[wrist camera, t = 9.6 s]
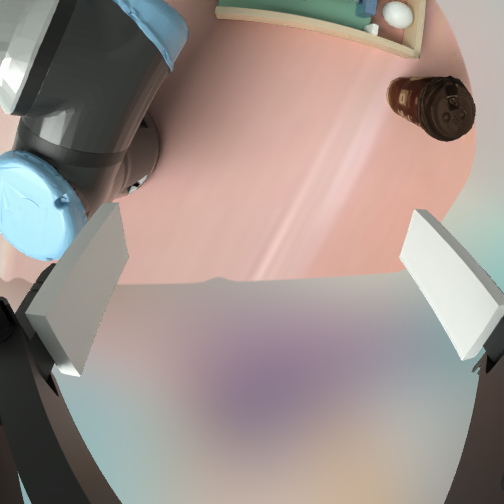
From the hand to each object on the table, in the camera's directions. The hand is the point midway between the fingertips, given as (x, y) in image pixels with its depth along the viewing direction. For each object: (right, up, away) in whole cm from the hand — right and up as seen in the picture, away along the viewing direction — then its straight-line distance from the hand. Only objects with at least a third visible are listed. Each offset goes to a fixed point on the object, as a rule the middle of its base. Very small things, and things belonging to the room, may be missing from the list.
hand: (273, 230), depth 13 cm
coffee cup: (+22, +22, +24) cm, 39 cm away
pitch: (+8, +33, +16) cm, 38 cm away
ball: (+19, +31, +15) cm, 39 cm away
